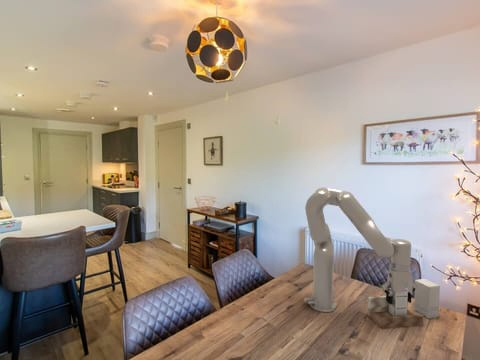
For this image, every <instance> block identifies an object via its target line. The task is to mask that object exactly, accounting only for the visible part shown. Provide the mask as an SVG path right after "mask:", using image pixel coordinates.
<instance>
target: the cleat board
mask: <svg viewBox="0 0 480 360" xmlns="http://www.w3.org/2000/svg"><path fill="white" fill-rule="evenodd" d="M388 306H389V303H388V302H387V301H386V295H377V296H376V295H375V296H367V316H368V317H369V318H370V319H371V320H372V321H373V322H375V324H376V325H377V326H378V327H380V329H382V330H385V329H397V328H409V327H419V326H423V325H424V315H422V314H421V313H419V314H415V313H414V312H412V311H410V310H409V309H408V308H409V302H408V301H407V315H406V316H394V317H393V316H392V315H391V314H390V313H389V312H388Z"/></svg>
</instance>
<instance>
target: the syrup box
mask: <svg viewBox="0 0 480 360" xmlns="http://www.w3.org/2000/svg"><path fill="white" fill-rule="evenodd" d="M390 291H391V290H390ZM390 291H389V292H390ZM391 296H392V304H389V306H388V312H389V313H390V314H391V315H392V316H393V317H394V316H406V315H407V299H408V288H406V289H404V291H403V292H401V293H393V294H392V295H391Z"/></svg>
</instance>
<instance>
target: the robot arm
mask: <svg viewBox="0 0 480 360" xmlns="http://www.w3.org/2000/svg"><path fill="white" fill-rule="evenodd" d="M328 205H330V206H335V207H339V208H340V210H341V211H342V212H343V214H344V215H345V217H347V218H348V220H349V222H351V224H352V225H353V226H354V227H355V228H356V230H357V231H358V233H360V234H359V235H361V236H362V237H363V239H364V240H365V242H367V244H368V245H369V247H371V249H372V250H373V251H374V253H375V254H376V255H377V256H379V257H380V258H382V259H390V264H389V265H388V266H389V270H388V274H387V281H386V282H385V283H383V284H381V289H382V291H383V292H384V293H385V296H386V301H387V302H388V303H389V304H392V296H391V295H392V294H393V293H401V292H403V291H404V289H406V288H408V299H407V301H408V304H412V297H413V294H414V293H415V288H416V287H417V284H416V283H415V281H414V277H413V272H412V269H411V258H412V255H411V254H412V243H411V242H410V241H409V240H407V239H403V238H391V237H387V236H385V235H384V234H383V233H382V231H381V230H380V228H378V226H377V225H376V223H375V221H374V220H373V218H372V216H370V214H369V213H368V212H367V211H366V210H365V208H364V207H363V206H362V205H361V204H360V202H359V200H357V198H356V197H355V196H354V194H352V192H349V191H346V190H341V189H333V188H330V187H319V188H318V189H316V190H315V192H314V193H312V194H311V195H310V196H309V197H308V199H307V201H306V203H305V207H304V209H305V214H306V216H305V217H306V221H307V225H308V230H309V236H310V238H311V240H312V241H313V243H314V244H313V245H314V251H313V277H312V278H313V283H312V284H313V289H312V294H311V296H310V297H304V298H303V302H304V303H308V305H310V307H311V308H312V309H314V310H315V311H317V312H321V313H332V312H334V311H335V310H336V304H335V302H334V300H333V298H334V295H333V294H334V293H333V292H334V289H333V288H334V266H335V265H334V262H335V261H334V260H335V249H334V244H333V239H332V235H331V234H332V233H331V229H330V227H329V225H328V224H327V223H326V221H325V220H326V219H325V214H324V208H325V207H326V206H328ZM390 290H391V291H390ZM389 291H390V292H389Z"/></svg>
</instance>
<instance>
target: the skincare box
mask: <svg viewBox="0 0 480 360" xmlns="http://www.w3.org/2000/svg"><path fill="white" fill-rule="evenodd" d="M414 283H416V284H417V287H416V288H415V291H414V302H413V303H414V307H413V308H414V311H416V312H418V313H419V314H422V315H423V317H425V318H427V319H435V318H439V317H440V299H441V297H440V295H441V293H440V290H441V289H440V288H441V286H440V284H437V283H435V282H433V281H431V280H429V279H426V278H421V279H415V280H414Z"/></svg>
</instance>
